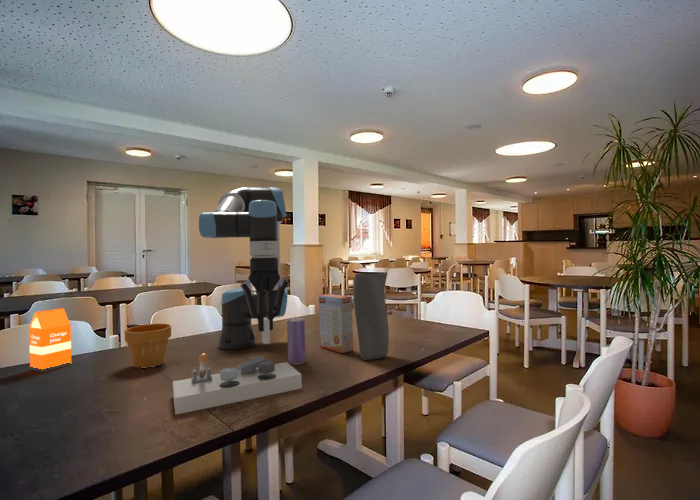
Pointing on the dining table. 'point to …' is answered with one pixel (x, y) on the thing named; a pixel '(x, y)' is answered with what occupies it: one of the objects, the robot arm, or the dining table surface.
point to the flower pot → (148, 343)
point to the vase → (371, 314)
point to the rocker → (250, 364)
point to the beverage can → (296, 341)
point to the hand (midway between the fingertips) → (265, 342)
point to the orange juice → (50, 339)
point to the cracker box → (336, 322)
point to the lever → (203, 364)
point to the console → (232, 387)
